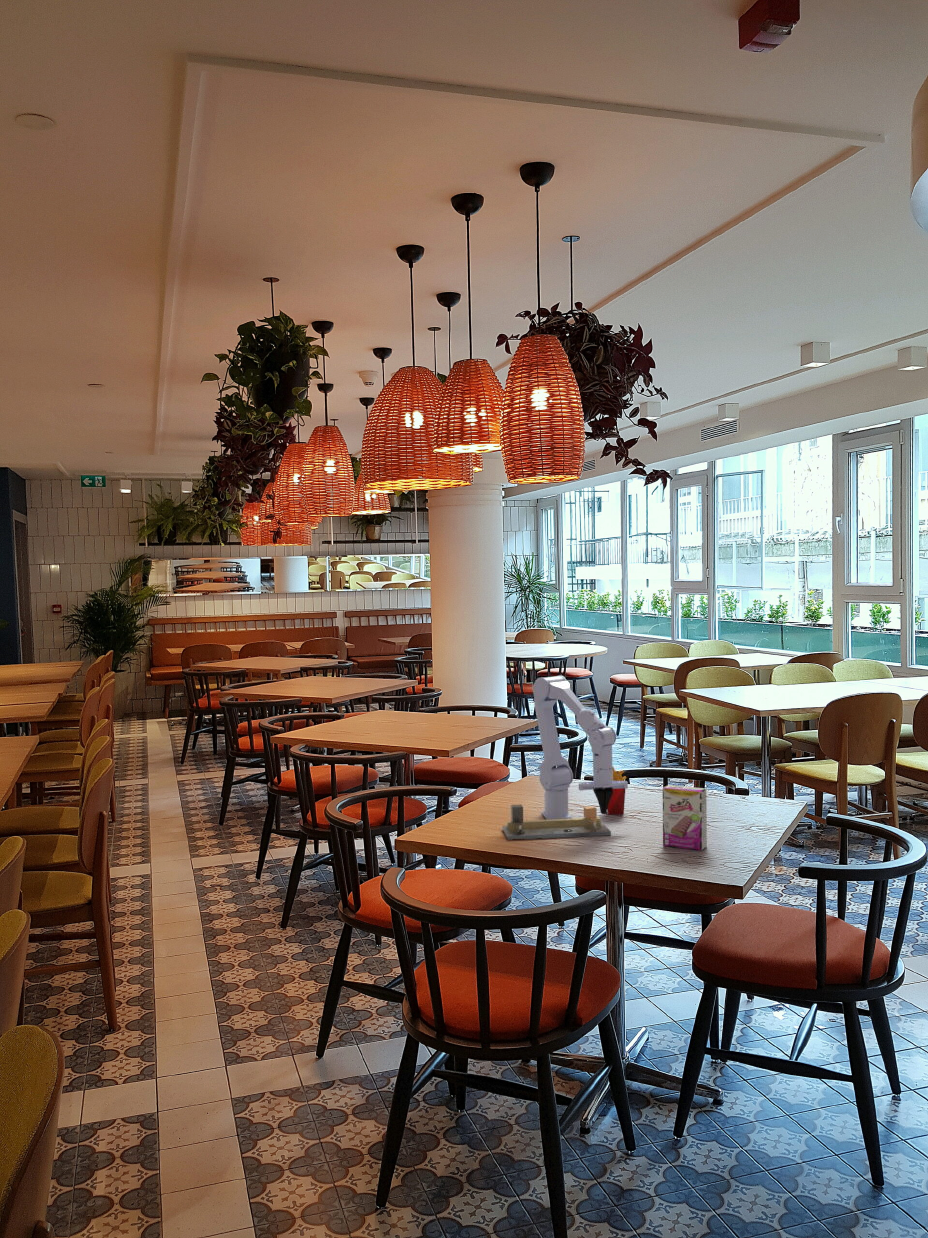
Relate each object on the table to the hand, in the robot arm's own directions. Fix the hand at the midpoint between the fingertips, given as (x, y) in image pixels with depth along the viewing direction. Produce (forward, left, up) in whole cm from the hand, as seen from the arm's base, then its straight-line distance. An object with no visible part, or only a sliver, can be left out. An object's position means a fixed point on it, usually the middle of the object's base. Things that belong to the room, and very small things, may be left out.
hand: (603, 813), depth 284 cm
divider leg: (+2, -4, -3) cm, 6 cm away
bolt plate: (+3, -15, -4) cm, 16 cm away
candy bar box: (+24, +17, -5) cm, 30 cm away
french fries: (-17, +7, -5) cm, 19 cm away
